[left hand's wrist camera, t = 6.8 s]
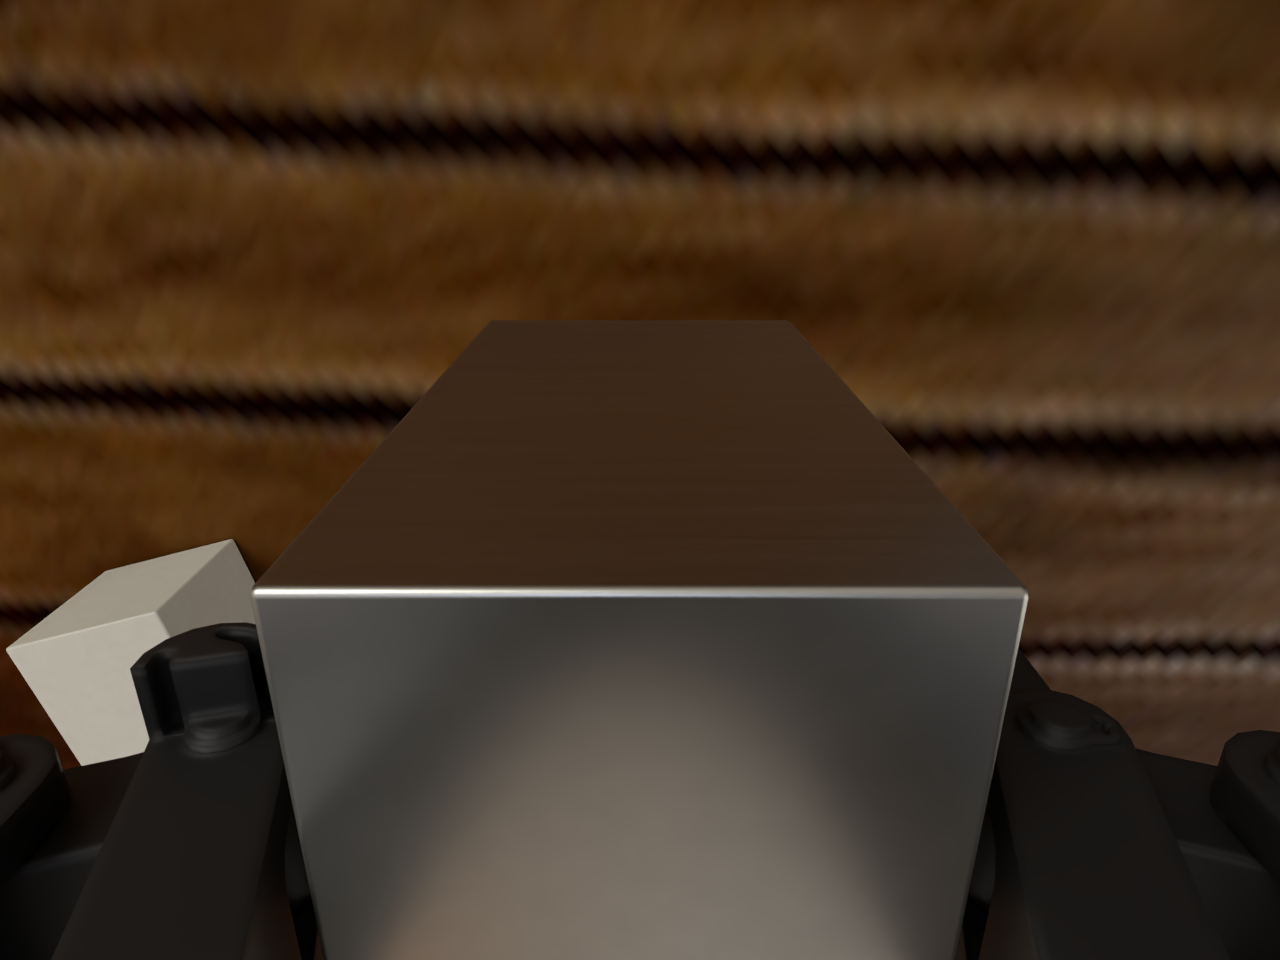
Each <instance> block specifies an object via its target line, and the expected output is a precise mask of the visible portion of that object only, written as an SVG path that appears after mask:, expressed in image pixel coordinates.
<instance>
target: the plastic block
mask: <svg viewBox="0 0 1280 960" xmlns="http://www.w3.org/2000/svg"><path fill="white" fill-rule="evenodd" d="M254 584H255V582H254V580H253V578H252V576H251V574H250V572H249V570H248V568H247V566H246V564H245V562H244V560H243V558H242V556H241V554H240V552H239V550H238V548H237V546H236V544H235V542H234V540H233V539H229V540H226V541H222V542H218V543H214V544H210V545H206V546H202V547H198V548H194V549H190V550H186V551H182V552H178V553H175V554H171V555H167V556H163V557H159V558H155V559H151V560H147V561H143V562H139V563H135V564H131V565H127V566H124V567H120V568H116V569H112V570H108V571H105V572H104V573H103V574H101V575H100V576H99V577H97V578H96V579H95V580H94V581H92V582H91V583H90V584H89V585H87V586H86V587H85V588H83V589H82V590H81V591H80V592H78V593H77V594H76V595H74V596H73V597H72V598H71V599H69V600H68V601H67V602H65V603H64V604H63V605H62V606H60V607H59V608H58V609H56V610H55V611H54V612H53V613H51V614H50V615H49V616H48V617H46V618H45V619H44V620H42V621H41V622H40V623H39V624H37V625H36V626H35V627H33V628H32V629H31V630H30V631H28V632H27V633H26V634H24V635H23V636H22V637H21V638H19V639H18V640H17V641H15V642H14V643H13V644H12V645H10V646H9V647H8V648H7V649H6V651H7V653H8V654H9V656H10V657H11V659H12V660H13V662H14V663H15V665H16V666H17V668H18V669H19V671H20V672H21V674H22V675H23V677H24V678H25V680H26V682H27V683H28V685H29V686H30V688H31V689H32V691H33V692H34V694H35V695H36V697H37V698H38V700H39V701H40V703H41V704H42V706H43V708H44V709H45V711H46V712H47V714H48V715H49V717H50V718H51V720H52V721H53V723H54V724H55V726H56V727H57V729H58V730H59V732H60V733H61V735H62V737H63V738H64V740H65V741H66V743H67V744H68V746H69V747H70V749H71V750H72V752H73V753H74V755H75V756H76V758H77V759H78V761H79V762H80V764H81V766H84V765H89V764H94V763H98V762H103V761H108V760H113V759H118V758H123V757H127V756H131V755H135V754H138V753H142V752H144V751H145V749H146V746H147V744H148V742H149V736H148V733H147V729H146V725H145V722H144V718H143V715H142V711H141V707H140V704H139V700H138V697H137V693H136V689H135V686H134V682H133V679H132V675H131V671H130V668H131V667H132V666H133V665H134V664H135V662H136V661H137V660H138V659H139V658H140V657H141V656H142V655H143V653H145V652H147V651H148V650H150V649H151V648H153V647H155V646H156V645H158V644H159V643H161V642H163V641H164V640H166V639H168V638H171V637H174V636H176V635H179V634H181V633H184V632H186V631H189V630H192V629H195V628H200V627H205V626H210V625H214V624H219V623H242V622H247V623H252V624H256V623H255V618H254V613H253V608H252V603H251V598H250V596H251V590H252V587H253V585H254Z"/></svg>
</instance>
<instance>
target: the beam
mask: <svg viewBox="0 0 1280 960" xmlns="http://www.w3.org/2000/svg"><path fill="white" fill-rule="evenodd" d="M250 598H251V603H252V608H253V613H254V618H255V623H256V628H257V633H258V638H259V643H260V647H261V652H262V657H263V662H264V667H265V672H266V677H267V682H268V687H269V692H270V697H271V701H272V706H273V711H274V716H275V721H276V726H277V731H278V736H279V741H280V746H281V751H282V755H283V760H284V765H285V770H286V775H287V780H288V785H289V790H290V795H291V800H292V805H293V809H294V814H295V819H296V824H297V829H298V834H299V839H300V844H301V849H302V854H303V859H304V863H305V868H306V873H307V878H308V883H309V888H310V893H311V898H312V903H313V908H314V913H315V917H316V922H317V927H318V932H319V937H320V942H321V947H322V952H323V957H324V960H955V957H956V952H957V947H958V942H959V937H960V932H961V927H962V922H963V917H964V912H965V907H966V903H967V898H968V893H969V888H970V883H971V878H972V873H973V868H974V863H975V858H976V853H977V848H978V844H979V839H980V834H981V829H982V824H983V819H984V814H985V809H986V804H987V799H988V794H989V789H990V784H991V780H992V775H993V770H994V765H995V760H996V755H997V750H998V745H999V740H1000V735H1001V730H1002V725H1003V720H1004V716H1005V711H1006V706H1007V701H1008V696H1009V691H1010V686H1011V681H1012V676H1013V671H1014V666H1015V661H1016V656H1017V652H1018V647H1019V642H1020V637H1021V632H1022V627H1023V622H1024V617H1025V612H1026V607H1027V602H1028V591H1027V588H1026V586H1025V585H1024V584H1023V582H1022V581H1021V580H1020V579H1019V578H1018V577H1017V576H1016V575H1015V573H1014V572H1013V571H1012V570H1011V569H1010V568H1009V567H1008V566H1007V564H1006V563H1005V562H1004V561H1003V560H1002V559H1001V558H1000V557H999V555H998V554H997V553H996V552H995V551H994V550H993V549H992V548H991V547H990V545H989V544H988V543H987V542H986V541H985V540H984V539H983V538H982V536H981V535H980V534H979V533H978V532H977V531H976V530H975V529H974V527H973V526H972V525H971V524H970V523H969V522H968V521H967V520H966V519H965V517H964V516H963V515H962V514H961V513H960V512H959V511H958V510H957V508H956V507H955V506H954V505H953V504H952V503H951V502H950V501H949V499H948V498H947V497H946V496H945V495H944V494H943V493H942V492H941V491H940V489H939V488H938V487H937V486H936V485H935V484H934V483H933V482H932V480H931V479H930V478H929V477H928V476H927V475H926V474H925V473H924V471H923V470H922V469H921V468H920V467H919V466H918V465H917V464H916V463H915V461H914V460H913V459H912V458H911V457H910V456H909V455H908V454H907V452H906V451H905V450H904V449H903V448H902V447H901V446H900V445H899V443H898V442H897V441H896V440H895V439H894V438H893V437H892V436H891V435H890V433H889V432H888V431H887V430H886V429H885V428H884V427H883V426H882V424H881V423H880V422H879V421H878V420H877V419H876V418H875V417H874V415H873V414H872V413H871V412H870V411H869V410H868V409H867V408H866V406H865V405H864V404H863V403H862V402H861V401H860V400H859V399H858V398H857V396H856V395H855V394H854V393H853V392H852V391H851V390H850V389H849V387H848V386H847V385H846V384H845V383H844V382H843V381H842V380H841V378H840V377H839V376H838V375H837V374H836V373H835V372H834V371H833V370H832V368H831V367H830V366H829V365H828V364H827V363H826V362H825V361H824V359H823V358H822V357H821V356H820V355H819V354H818V353H817V352H816V350H815V349H814V348H813V347H812V346H811V345H810V344H809V343H808V342H807V340H806V339H805V338H804V337H803V336H802V335H801V334H800V333H799V331H798V330H797V329H796V328H795V327H794V326H793V325H792V324H791V322H789V321H490V322H489V323H488V324H487V325H486V326H485V328H484V329H483V330H482V331H481V332H480V333H479V334H478V335H477V336H476V338H475V339H474V340H473V341H472V342H471V343H470V344H469V345H468V347H467V348H466V349H465V350H464V351H463V352H462V353H461V354H460V355H459V357H458V358H457V359H456V360H455V361H454V362H453V363H452V364H451V366H450V367H449V368H448V369H447V370H446V371H445V372H444V373H443V374H442V376H441V377H440V378H439V379H438V380H437V381H436V382H435V383H434V385H433V386H432V387H431V388H430V389H429V390H428V391H427V392H426V393H425V395H424V396H423V397H422V398H421V399H420V400H419V401H418V402H417V403H416V405H415V406H414V407H413V408H412V409H411V410H410V411H409V412H408V414H407V415H406V416H405V417H404V418H403V419H402V420H401V421H400V422H399V424H398V425H397V426H396V427H395V428H394V429H393V430H392V431H391V433H390V434H389V435H388V436H387V437H386V438H385V439H384V440H383V441H382V443H381V444H380V445H379V446H378V447H377V448H376V449H375V450H374V452H373V453H372V454H371V455H370V456H369V457H368V458H367V459H366V460H365V462H364V463H363V464H362V465H361V466H360V467H359V468H358V469H357V470H356V472H355V473H354V474H353V475H352V476H351V477H350V478H349V479H348V481H347V482H346V483H345V484H344V485H343V486H342V487H341V488H340V489H339V491H338V492H337V493H336V494H335V495H334V496H333V497H332V498H331V500H330V501H329V502H328V503H327V504H326V505H325V506H324V507H323V508H322V510H321V511H320V512H319V513H318V514H317V515H316V516H315V517H314V518H313V520H312V521H311V522H310V523H309V524H308V525H307V526H306V527H305V529H304V530H303V531H302V532H301V533H300V534H299V535H298V536H297V537H296V539H295V540H294V541H293V542H292V543H291V544H290V545H289V546H288V548H287V549H286V550H285V551H284V552H283V553H282V554H281V555H280V556H279V558H278V559H277V560H276V561H275V562H274V563H273V564H272V565H271V567H270V568H269V569H268V570H267V571H266V572H265V573H264V574H263V575H262V577H261V578H260V579H259V580H258V581H257V582H256V583H255V584H254V585H253V587H252V590H251V596H250Z"/></svg>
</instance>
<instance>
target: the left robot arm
mask: <svg viewBox="0 0 1280 960" xmlns="http://www.w3.org/2000/svg"><path fill="white" fill-rule="evenodd" d="M130 671H131V675H132V679H133V682H134V686H135V689H136V693H137V697H138V700H139V704H140V707H141V711H142V715H143V718H144V722H145V725H146V729H147V733H148V736H149V742H148V744H147V746H146V749H145V751H144V752H142V753H138V754H135V755H131V756H127V757H123V758H118V759H113V760H108V761H103V762H98V763H94V764H89V765H84V766H79V767H74V768H69V769H65V770H63V769H62V766H61V763H60V760H59V757H58V754H57V751H56V748H55V746H54V745H53V744H51V743H50V742H49V741H47V740H46V739H45V738H43V737H40V736H33V735H25V734H15V735H7V736H0V960H324V957H323V952H322V947H321V942H320V937H319V932H318V927H317V922H316V917H315V913H314V908H313V903H312V898H311V893H310V888H309V883H308V878H307V873H306V868H305V863H304V859H303V854H302V849H301V844H300V839H299V834H298V829H297V824H296V819H295V814H294V809H293V805H292V800H291V795H290V790H289V785H288V780H287V775H286V770H285V765H284V760H283V755H282V751H281V746H280V741H279V736H278V731H277V726H276V721H275V716H274V711H273V706H272V701H271V697H270V692H269V687H268V682H267V677H266V672H265V667H264V662H263V657H262V652H261V647H260V643H259V638H258V633H257V628H256V624H252V623H247V622H242V623H219V624H214V625H210V626H205V627H200V628H195V629H192V630H189V631H186V632H184V633H181V634H179V635H176V636H174V637H171V638H168V639H166V640H164V641H163V642H161V643H159V644H158V645H156V646H155V647H153V648H151V649H150V650H148V651H147V652H145V653H143V655H142V656H141V657H140V658H139V659H138V660H137V661H136V662H135V664H134V665H133V666H132V667H131V668H130ZM956 960H1280V732H1272V731H1264V730H1257V731H1250V732H1243V733H1237V734H1236V735H1235V736H1233V737H1232V738H1231V739H1230V740H1228V741H1227V742H1226V743H1225V745H1224V748H1223V751H1222V754H1221V757H1220V760H1219V763H1218V766H1213V765H1208V764H1204V763H1199V762H1194V761H1189V760H1184V759H1179V758H1174V757H1169V756H1165V755H1160V754H1155V753H1151V752H1147V751H1144V750H1140V749H1136V748H1135V747H1134V745H1133V743H1132V740H1131V738H1130V737H1129V736H1128V734H1127V733H1126V732H1125V730H1124V729H1123V728H1122V726H1121V725H1120V724H1119V722H1118V721H1116V720H1115V719H1113V718H1112V717H1111V716H1109V715H1108V714H1107V713H1105V712H1104V711H1102V710H1101V709H1100V708H1098V707H1097V706H1095V705H1092V704H1090V703H1088V702H1086V701H1083V700H1081V699H1079V698H1077V697H1074V696H1072V695H1069V694H1065V693H1060V692H1056V691H1052V690H1050V688H1049V687H1048V686H1047V685H1046V683H1045V682H1044V681H1043V679H1042V678H1041V677H1040V675H1039V674H1038V673H1037V671H1036V670H1035V669H1034V668H1033V666H1032V665H1031V664H1030V662H1029V661H1028V660H1027V658H1026V657H1025V656H1024V654H1023V653H1022V652H1021V651H1020V649H1019V648H1018V652H1017V656H1016V661H1015V666H1014V671H1013V676H1012V681H1011V686H1010V691H1009V696H1008V701H1007V706H1006V711H1005V716H1004V720H1003V725H1002V730H1001V735H1000V740H999V745H998V750H997V755H996V760H995V765H994V770H993V775H992V780H991V784H990V789H989V794H988V799H987V804H986V809H985V814H984V819H983V824H982V829H981V834H980V839H979V844H978V848H977V853H976V858H975V863H974V868H973V873H972V878H971V883H970V888H969V893H968V898H967V903H966V907H965V912H964V917H963V922H962V927H961V932H960V937H959V942H958V947H957V952H956Z"/></svg>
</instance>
